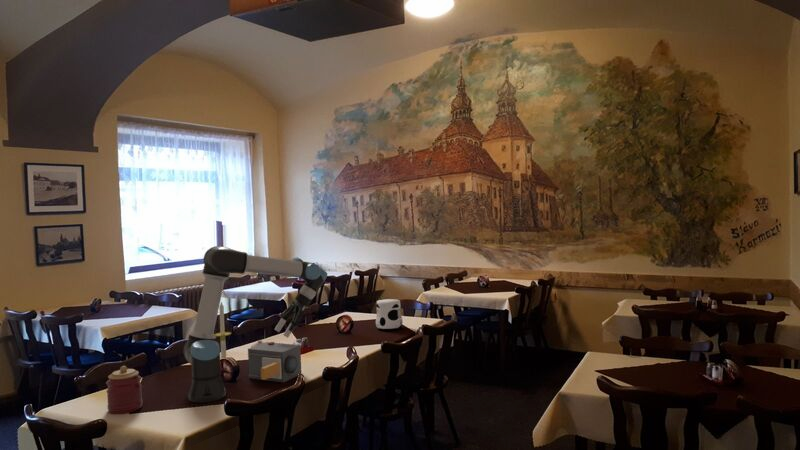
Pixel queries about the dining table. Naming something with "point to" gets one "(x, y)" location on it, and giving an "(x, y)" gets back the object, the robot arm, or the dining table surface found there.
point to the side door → (271, 368)
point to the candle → (222, 332)
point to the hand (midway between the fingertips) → (280, 333)
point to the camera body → (285, 352)
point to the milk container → (388, 314)
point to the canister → (124, 391)
